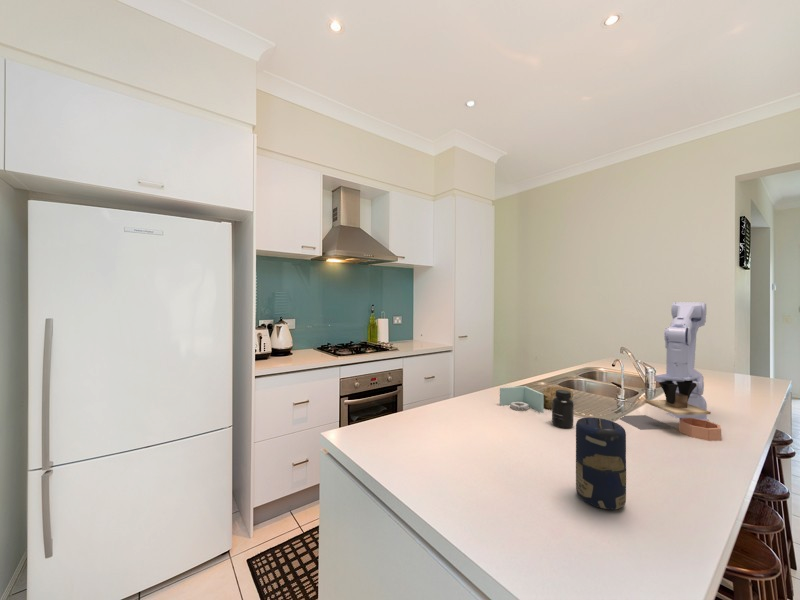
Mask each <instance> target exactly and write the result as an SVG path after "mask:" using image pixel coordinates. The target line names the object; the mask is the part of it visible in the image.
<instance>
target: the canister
mask: <svg viewBox="0 0 800 600" xmlns="http://www.w3.org/2000/svg"><path fill="white" fill-rule="evenodd" d="M575 490H576V492H577V495H578V496H579V497H580V498H581V499H582V500H583V501H584V502H586V503H587V504H589V505H592V506H595V508H596V507H597V508H601V509H604V510H618V509H621V508H623V507H624V506H625V505H626V502H627V432H626V429H625V428H624V427H623V425H621V424H619V423H617V422H615V421H612V420H610V419H605V418H602V417H601V418H600V417H591V416H589V417H582V418H579V419H578V420H577V421H576V423H575Z"/></svg>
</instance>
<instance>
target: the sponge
mask: <svg viewBox="0 0 800 600" xmlns="http://www.w3.org/2000/svg"><path fill="white" fill-rule="evenodd" d="M556 390H566V391H570V392H571V398H570V399H571V400H572V401H573V398H574V394H573V391H572V390H571V389H570V388H568V387H564V386H563V387H562V386H550V387H547V388H546V389H543V391H542V392H541V393H542V394H544V407H545V408H546V409H548V410H549V409H552V400H553V399H554V398H555V397H556V396H555V394H556Z"/></svg>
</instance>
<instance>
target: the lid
mask: <svg viewBox="0 0 800 600" xmlns="http://www.w3.org/2000/svg"><path fill="white" fill-rule="evenodd" d="M645 404H648V405H650V406H653V407H655V408H657V409H660V410H662V411H665V412H666V413H672V414H674V415H706V414H707V415H712V413H711V411H710V410H708V409H707V410H704V409H701V408H698V407H696V406H693V405H690V404H688V396H687V395H684V394H681V393H678V392H676V393H675V402H674V404H671V403H668V402H667V400H666V399H651V400H650V399H648V400H645Z"/></svg>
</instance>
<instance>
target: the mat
mask: <svg viewBox="0 0 800 600" xmlns="http://www.w3.org/2000/svg"><path fill="white" fill-rule="evenodd" d="M623 416H624V417H622V418H620V419H619V420H621V421H622V422H624V423H626V424H629V425H631V426H632V427H634V428H637V429H638V430H640V431H641V430H644V431H645V430H646V431H647V430H648V431H651V430H677V428H676V427H674V426H672V425H669V424H667V423H664V422H662V421H660V420H658V419H656V418H653V417H651V416H649V415H647V414H644V415H642V414H641V415H640V414H639V415H637V414H636V415H623Z"/></svg>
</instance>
